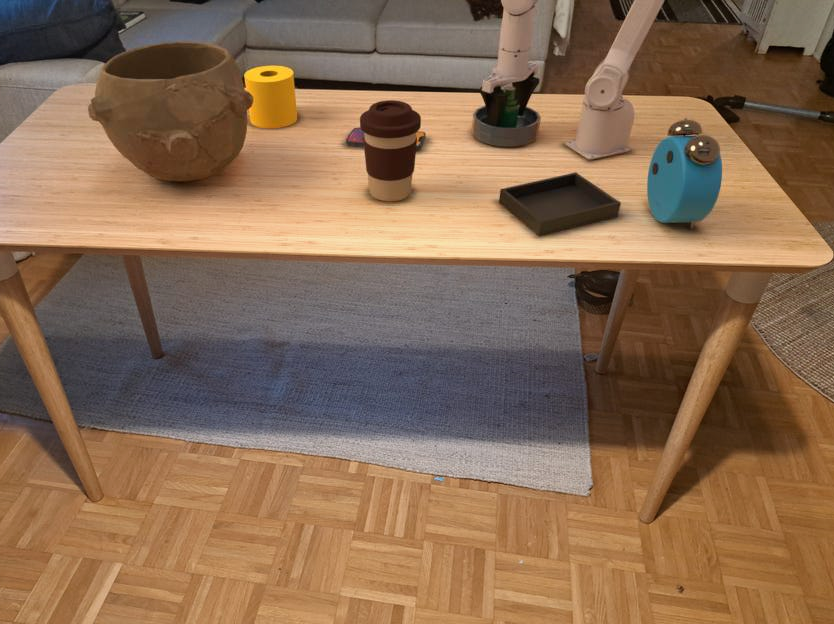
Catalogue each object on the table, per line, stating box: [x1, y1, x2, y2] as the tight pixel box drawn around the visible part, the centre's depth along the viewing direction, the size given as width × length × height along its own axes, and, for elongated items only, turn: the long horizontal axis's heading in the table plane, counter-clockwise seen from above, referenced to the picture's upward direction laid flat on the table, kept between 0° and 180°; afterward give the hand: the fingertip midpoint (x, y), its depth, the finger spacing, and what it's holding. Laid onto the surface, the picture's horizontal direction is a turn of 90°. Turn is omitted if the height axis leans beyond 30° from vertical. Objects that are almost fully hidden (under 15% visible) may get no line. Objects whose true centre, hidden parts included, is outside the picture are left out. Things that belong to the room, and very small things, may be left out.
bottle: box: [498, 85, 520, 128], centre depth 134 cm, size 4×4×9 cm
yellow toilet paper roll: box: [243, 65, 298, 129], centre depth 142 cm, size 10×10×9 cm
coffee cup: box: [359, 99, 422, 202], centre depth 114 cm, size 10×10×15 cm
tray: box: [498, 171, 622, 237], centre depth 113 cm, size 15×12×2 cm
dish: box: [471, 105, 542, 148], centre depth 136 cm, size 13×13×4 cm
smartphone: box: [345, 126, 427, 152], centre depth 135 cm, size 7×15×1 cm, turn 75°
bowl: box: [87, 40, 253, 182], centre depth 121 cm, size 27×29×20 cm
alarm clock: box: [646, 117, 723, 229], centre depth 106 cm, size 13×6×15 cm, turn 2°
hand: (505, 119), depth 135 cm, fingers open, 7 cm apart
